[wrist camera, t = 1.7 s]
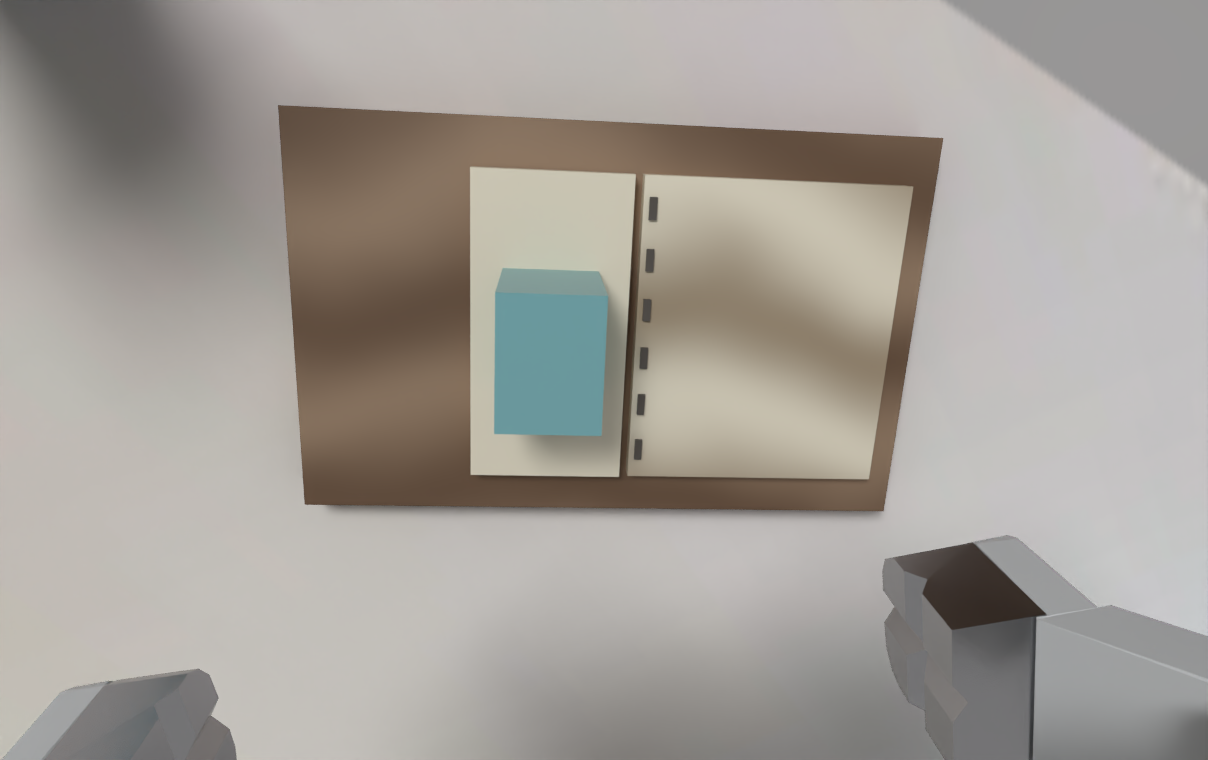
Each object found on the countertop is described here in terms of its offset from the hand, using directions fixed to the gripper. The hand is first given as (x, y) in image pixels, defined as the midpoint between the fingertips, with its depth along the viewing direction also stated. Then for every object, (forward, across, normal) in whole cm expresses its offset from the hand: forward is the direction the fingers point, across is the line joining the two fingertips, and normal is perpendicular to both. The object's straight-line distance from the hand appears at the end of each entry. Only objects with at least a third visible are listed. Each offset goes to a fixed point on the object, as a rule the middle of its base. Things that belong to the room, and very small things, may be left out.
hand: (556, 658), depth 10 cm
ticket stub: (+18, 0, 0) cm, 18 cm away
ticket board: (+19, -2, 0) cm, 19 cm away
